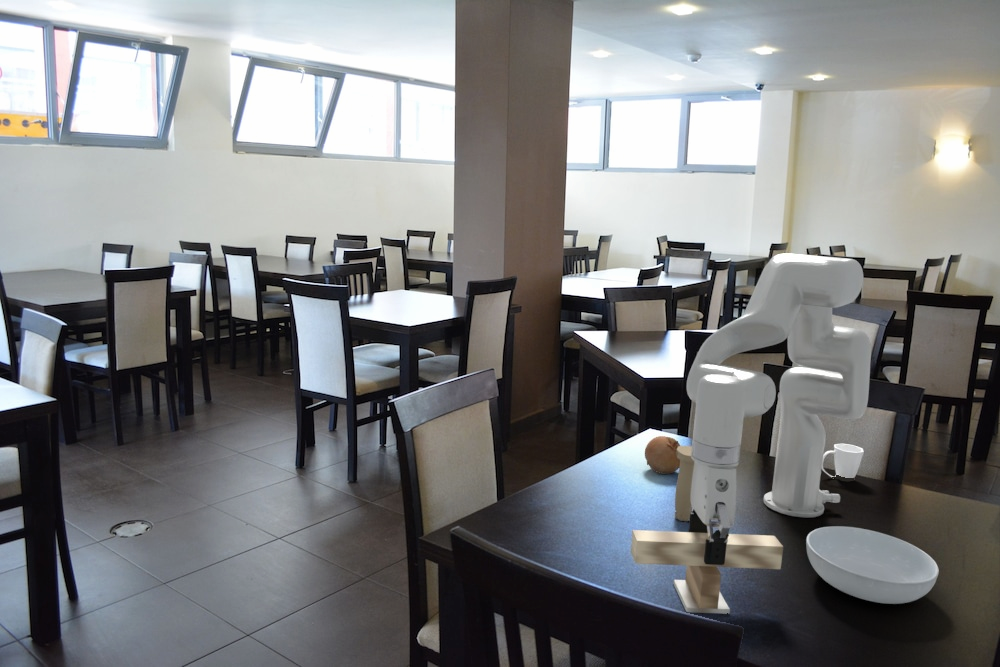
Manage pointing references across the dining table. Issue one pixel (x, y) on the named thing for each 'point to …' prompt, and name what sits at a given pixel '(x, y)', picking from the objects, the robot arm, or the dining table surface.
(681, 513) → the handle
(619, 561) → the dining table surface
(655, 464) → the onion
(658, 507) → the dining table surface
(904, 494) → the dining table surface
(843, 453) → the cup
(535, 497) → the dining table surface
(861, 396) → the robot arm
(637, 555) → the beam
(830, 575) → the serving bowl
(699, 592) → the wooden block on base
